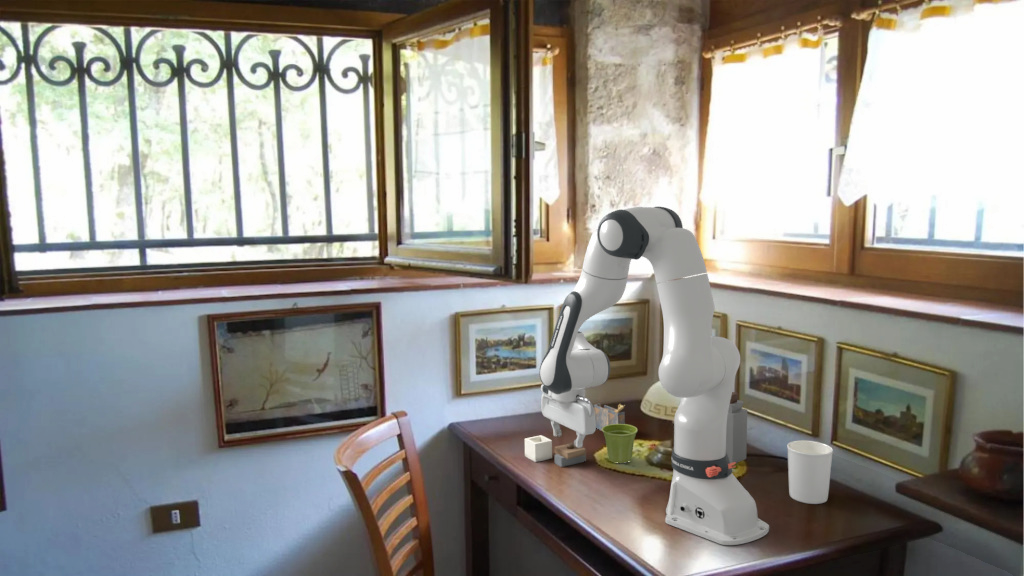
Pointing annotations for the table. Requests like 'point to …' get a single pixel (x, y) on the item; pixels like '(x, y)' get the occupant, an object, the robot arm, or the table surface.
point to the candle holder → (809, 471)
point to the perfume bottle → (736, 430)
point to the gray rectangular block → (568, 460)
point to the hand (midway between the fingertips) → (567, 441)
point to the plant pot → (619, 441)
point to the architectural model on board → (608, 415)
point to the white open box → (538, 448)
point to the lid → (570, 451)
